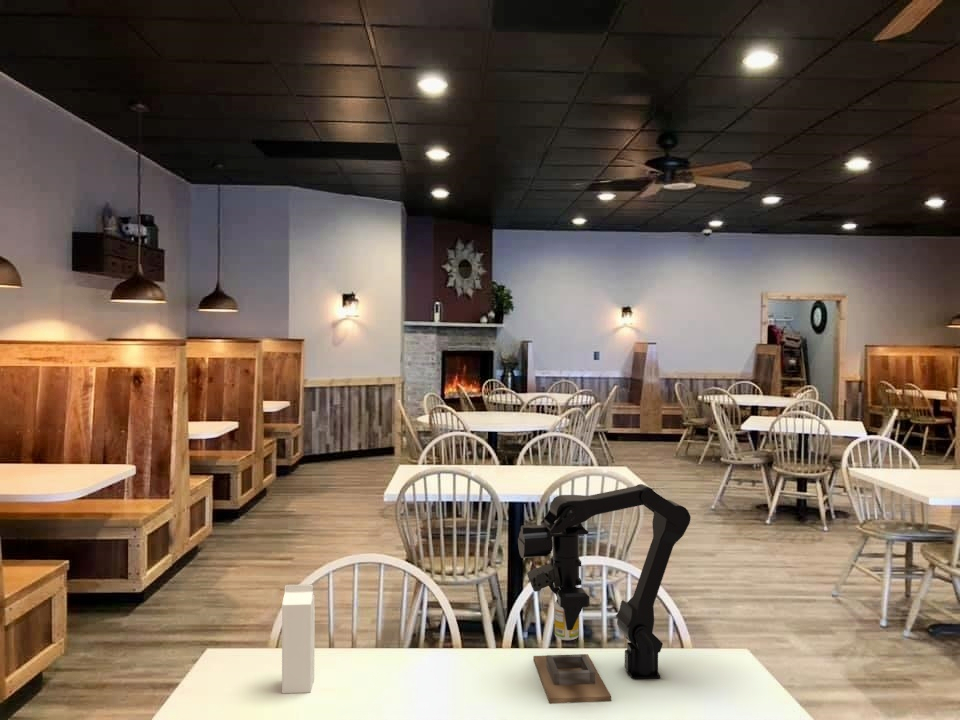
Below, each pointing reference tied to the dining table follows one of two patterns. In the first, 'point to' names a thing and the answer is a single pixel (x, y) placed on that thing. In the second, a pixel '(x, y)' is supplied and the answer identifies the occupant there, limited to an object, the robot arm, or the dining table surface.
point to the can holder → (570, 679)
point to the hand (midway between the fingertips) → (566, 624)
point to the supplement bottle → (564, 625)
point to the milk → (298, 638)
